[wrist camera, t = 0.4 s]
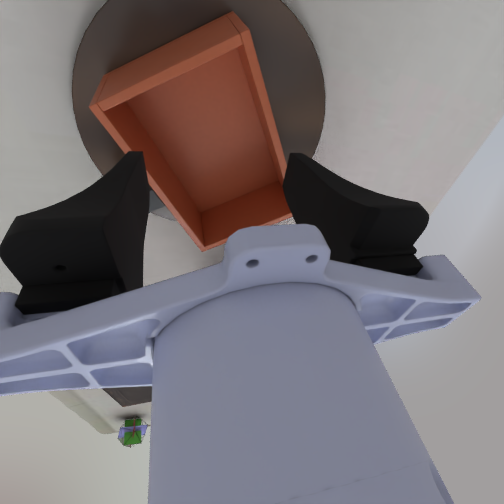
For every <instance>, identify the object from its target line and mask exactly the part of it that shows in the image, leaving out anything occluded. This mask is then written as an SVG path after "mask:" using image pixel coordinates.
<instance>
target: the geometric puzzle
mask: <svg viewBox="0 0 504 504" xmlns="http://www.w3.org/2000/svg"><path fill="white" fill-rule="evenodd" d="M135 416H136V415H135ZM136 417H137V416H136ZM141 419H142V418H141ZM141 419H132V420H131V419H130V420H125V424H122V425H125V427H122V428H121V427H120V431H119V436H118V439H119V440H120V442H121V443H122V445H124V446H127V447H131V444H139V443H141V435H145V432H146V429H147V425H143V424H142V425H141V421H142V420H141ZM144 423H145V422H144Z"/></svg>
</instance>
